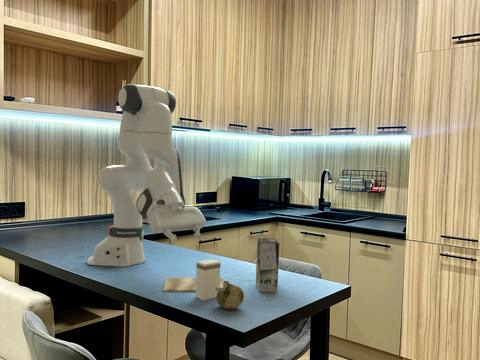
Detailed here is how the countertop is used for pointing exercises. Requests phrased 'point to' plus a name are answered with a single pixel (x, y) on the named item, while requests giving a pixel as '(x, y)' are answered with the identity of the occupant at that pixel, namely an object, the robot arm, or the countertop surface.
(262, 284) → the coffee box
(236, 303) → the onion
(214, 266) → the card box
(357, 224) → the countertop surface
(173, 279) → the mat
